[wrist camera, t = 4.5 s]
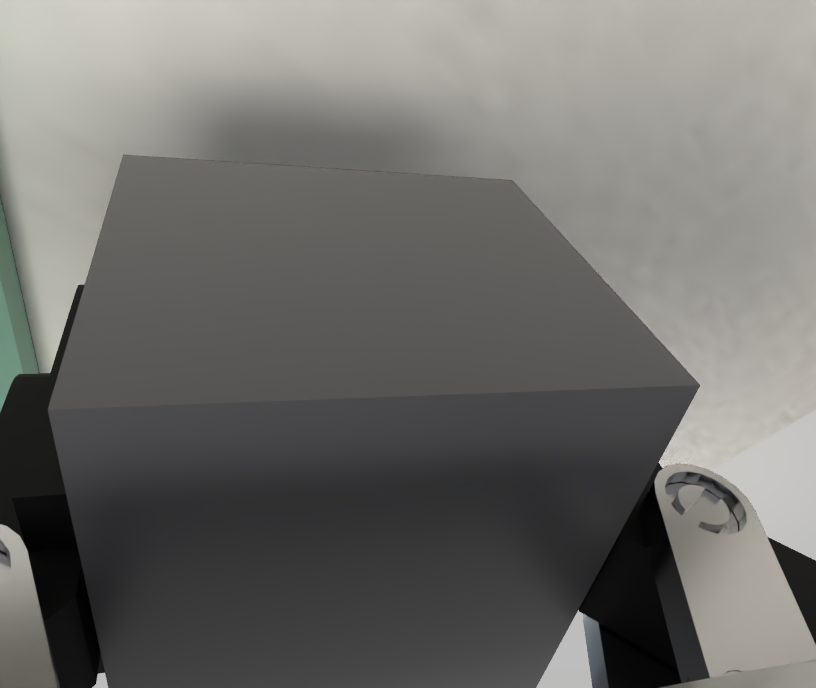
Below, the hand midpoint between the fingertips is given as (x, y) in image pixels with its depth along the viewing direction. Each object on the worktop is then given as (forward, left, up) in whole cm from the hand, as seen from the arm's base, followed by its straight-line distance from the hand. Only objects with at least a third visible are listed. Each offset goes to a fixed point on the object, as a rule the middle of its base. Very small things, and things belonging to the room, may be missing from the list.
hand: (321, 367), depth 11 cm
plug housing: (0, 0, -1) cm, 1 cm away
